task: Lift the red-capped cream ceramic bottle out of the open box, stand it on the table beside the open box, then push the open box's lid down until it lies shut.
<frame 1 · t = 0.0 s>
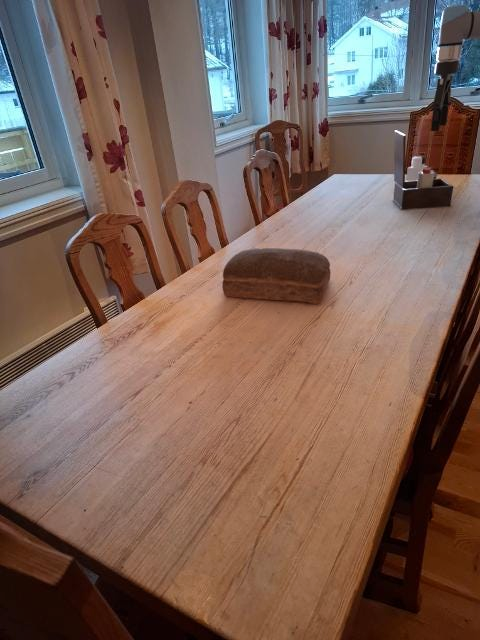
hand: (438, 128, 158), 31 cm above the table, tool pointing down, fingers open, 13 cm apart
bread: (277, 289, 126), on the table
open box: (420, 203, 183), on the table
lid: (399, 159, 175), point 19 cm above the table, hinge at 95.0°
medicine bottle: (415, 181, 215), on the table
bottle: (422, 203, 181), point 1 cm above the table, touching open box
food container: (424, 192, 198), on the table
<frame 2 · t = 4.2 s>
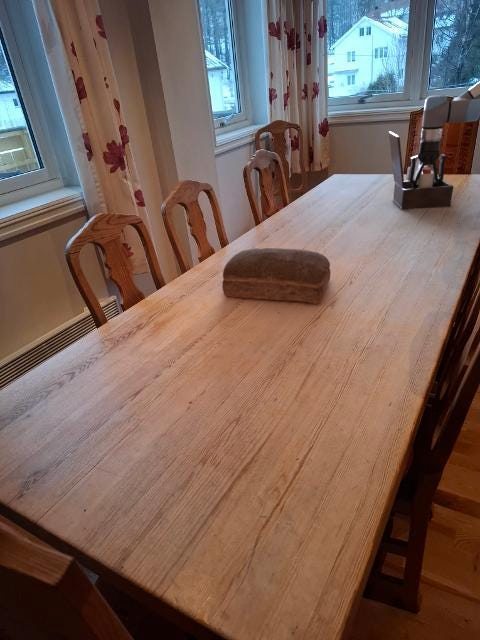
hand: (423, 198, 180), 3 cm above the table, tool pointing down, fingers closed on bottle, 6 cm apart
lid: (396, 160, 175), point 19 cm above the table, hinge at 101.4°
bottle: (422, 203, 181), point 1 cm above the table, touching open box, gripper
everything else where it was.
when the fingers open (2 cm above the table, at t = 12.2 s): bottle stays where it is, on the table.
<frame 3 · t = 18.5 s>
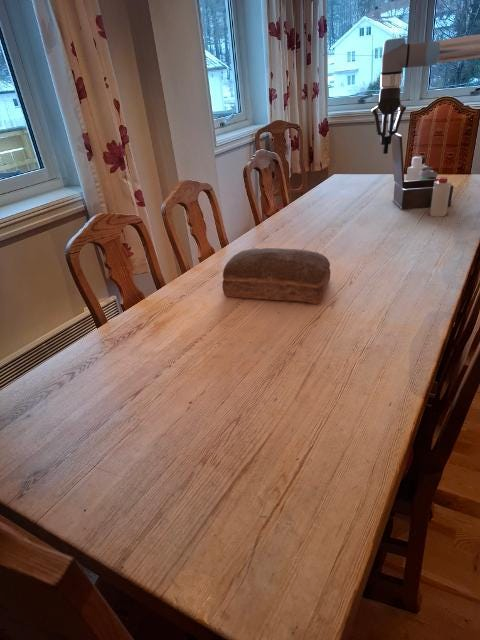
hand: (384, 153, 174), 22 cm above the table, tool pointing down, fingers closed
lid: (397, 159, 175), point 19 cm above the table, hinge at 98.9°, touching gripper
bottle: (437, 214, 170), on the table
everything else where it was.
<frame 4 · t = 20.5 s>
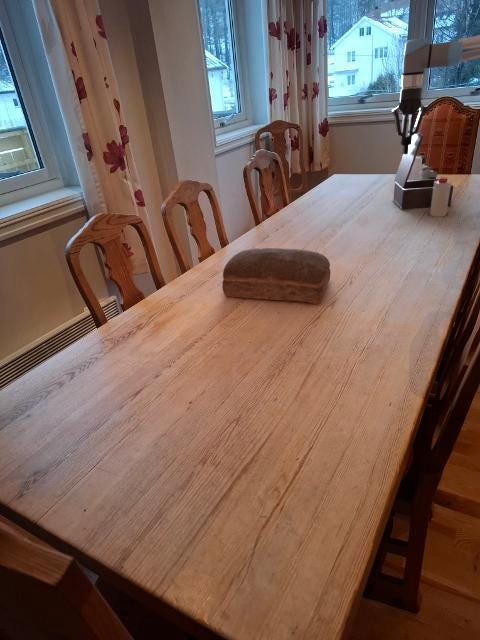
hand: (404, 153, 173), 21 cm above the table, tool pointing down, fingers closed
lid: (408, 159, 175), point 19 cm above the table, hinge at 75.8°, touching gripper
everything else where it was.
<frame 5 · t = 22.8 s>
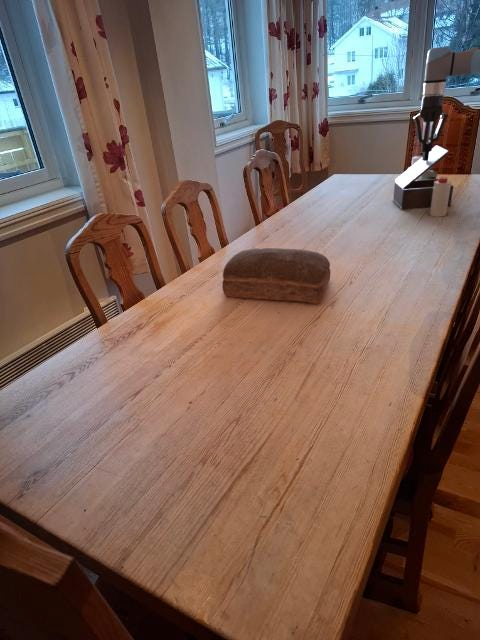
hand: (425, 160, 174), 18 cm above the table, tool pointing down, fingers closed
lid: (420, 167, 176), point 15 cm above the table, hinge at 39.5°, touching gripper
everything else where it was.
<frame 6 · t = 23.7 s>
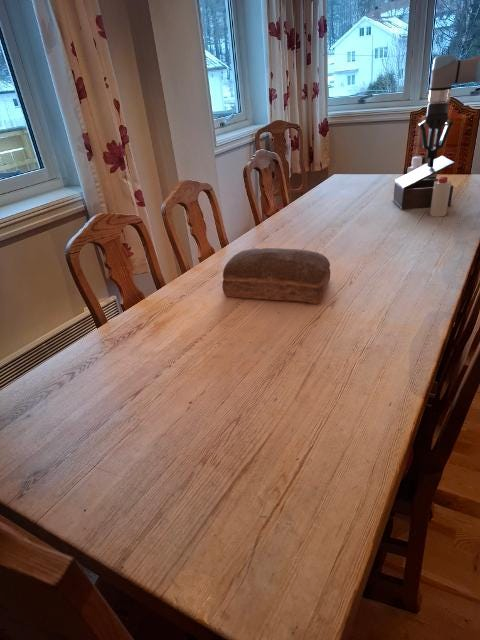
hand: (430, 166, 176), 15 cm above the table, tool pointing down, fingers closed
lid: (423, 172, 177), point 13 cm above the table, hinge at 24.8°, touching gripper
everything else where it was.
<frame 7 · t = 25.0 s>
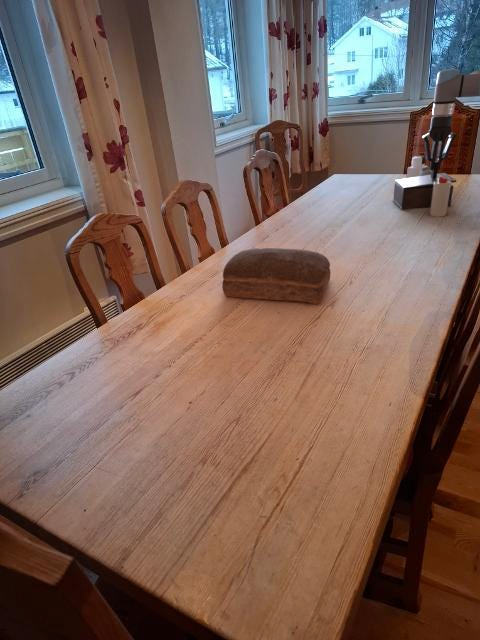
hand: (433, 177, 178), 10 cm above the table, tool pointing down, fingers closed
lid: (424, 180, 179), point 9 cm above the table, hinge at 4.1°
everything else where it was.
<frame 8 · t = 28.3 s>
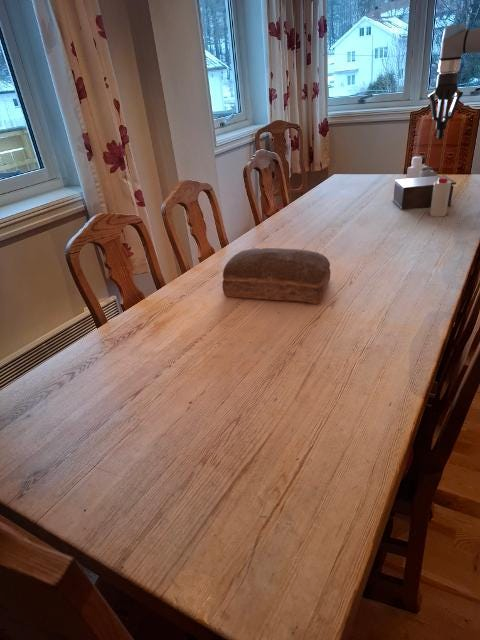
hand: (439, 138, 178), 24 cm above the table, tool pointing down, fingers closed
lid: (424, 182, 179), point 9 cm above the table, hinge at 1.6°
everything else where it was.
at the end: bottle inside the target area (0.1 cm from its centre), on the table; bottle tilted 0°; lid at +2° (first picture: +95°) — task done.
